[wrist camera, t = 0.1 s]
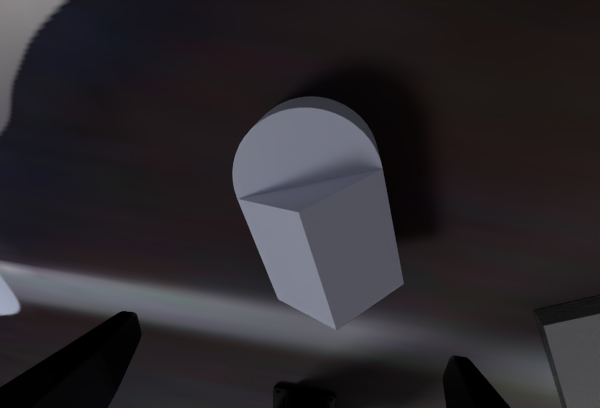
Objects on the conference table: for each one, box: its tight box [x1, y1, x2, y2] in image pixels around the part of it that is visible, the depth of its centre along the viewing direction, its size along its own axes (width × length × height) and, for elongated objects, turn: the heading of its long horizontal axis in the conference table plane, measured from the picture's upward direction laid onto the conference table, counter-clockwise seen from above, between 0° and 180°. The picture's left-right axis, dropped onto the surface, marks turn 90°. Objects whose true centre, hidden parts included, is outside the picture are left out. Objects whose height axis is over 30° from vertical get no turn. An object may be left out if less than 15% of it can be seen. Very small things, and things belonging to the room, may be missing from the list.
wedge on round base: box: [233, 96, 404, 330], centre depth 20 cm, size 9×7×13 cm
